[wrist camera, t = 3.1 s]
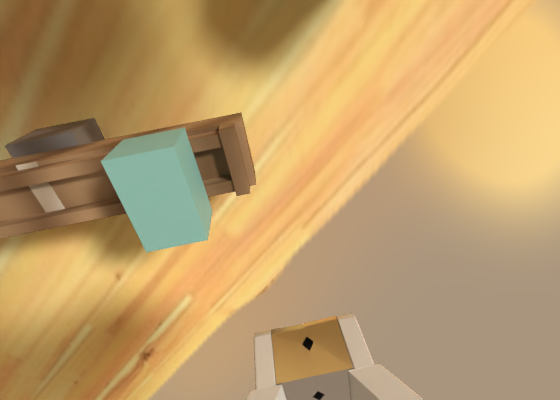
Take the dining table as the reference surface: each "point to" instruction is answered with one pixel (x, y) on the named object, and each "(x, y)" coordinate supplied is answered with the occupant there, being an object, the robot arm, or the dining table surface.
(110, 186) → the beam
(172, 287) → the dining table surface
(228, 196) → the dining table surface
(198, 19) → the dining table surface
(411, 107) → the dining table surface
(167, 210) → the block
